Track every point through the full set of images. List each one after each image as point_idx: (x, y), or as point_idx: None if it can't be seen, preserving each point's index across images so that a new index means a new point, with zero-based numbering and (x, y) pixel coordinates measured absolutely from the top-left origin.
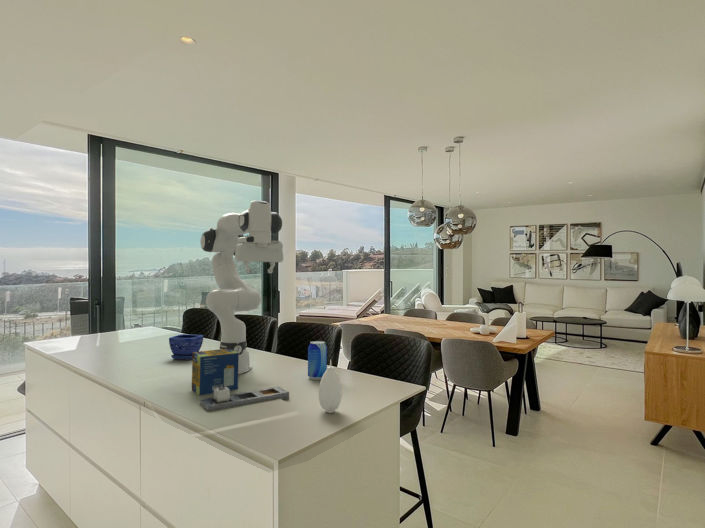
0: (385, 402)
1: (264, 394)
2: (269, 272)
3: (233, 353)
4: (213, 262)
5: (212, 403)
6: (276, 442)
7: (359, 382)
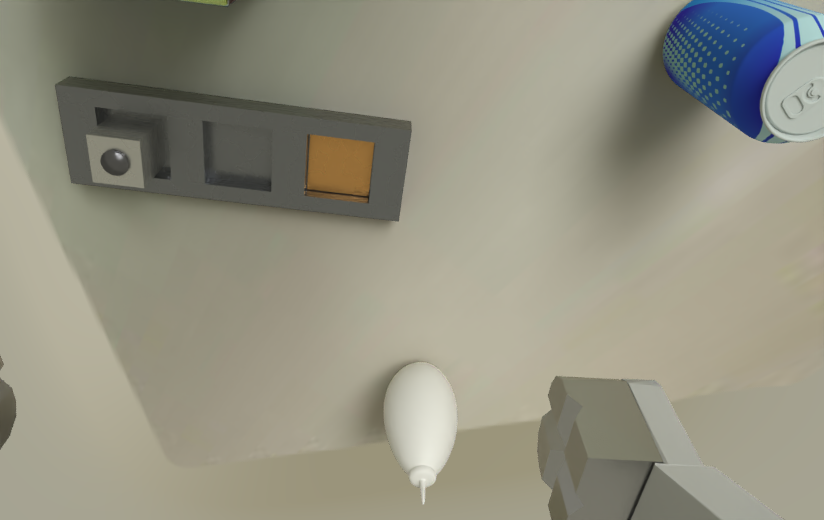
0: None
1: (329, 144)
2: (538, 458)
3: (191, 1)
4: None
5: None
6: (198, 424)
7: (754, 221)
